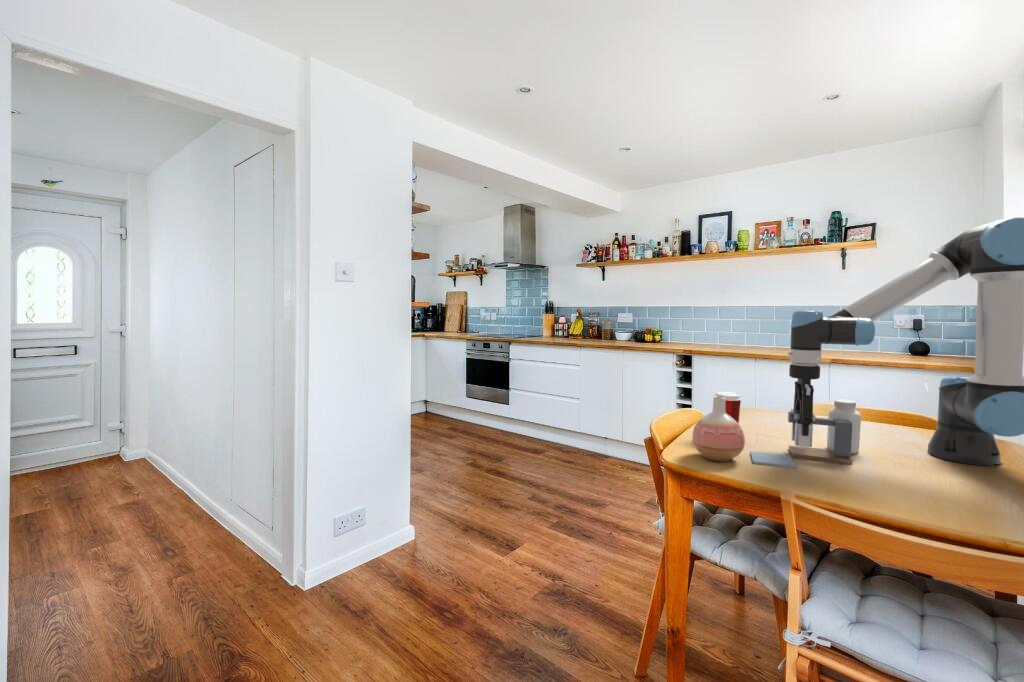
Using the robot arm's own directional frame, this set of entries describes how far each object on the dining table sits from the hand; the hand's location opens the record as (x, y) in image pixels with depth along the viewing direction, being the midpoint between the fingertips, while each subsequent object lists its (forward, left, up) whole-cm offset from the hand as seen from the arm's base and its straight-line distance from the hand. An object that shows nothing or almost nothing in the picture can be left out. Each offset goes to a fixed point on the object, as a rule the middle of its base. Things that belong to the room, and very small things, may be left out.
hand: (801, 442), depth 138 cm
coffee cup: (+20, -9, -4) cm, 22 cm away
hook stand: (-4, 0, -4) cm, 6 cm away
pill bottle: (-12, -10, -4) cm, 16 cm away
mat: (+9, +9, -4) cm, 13 cm away
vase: (+23, +13, -4) cm, 26 cm away
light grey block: (0, 0, 0) cm, 0 cm away
